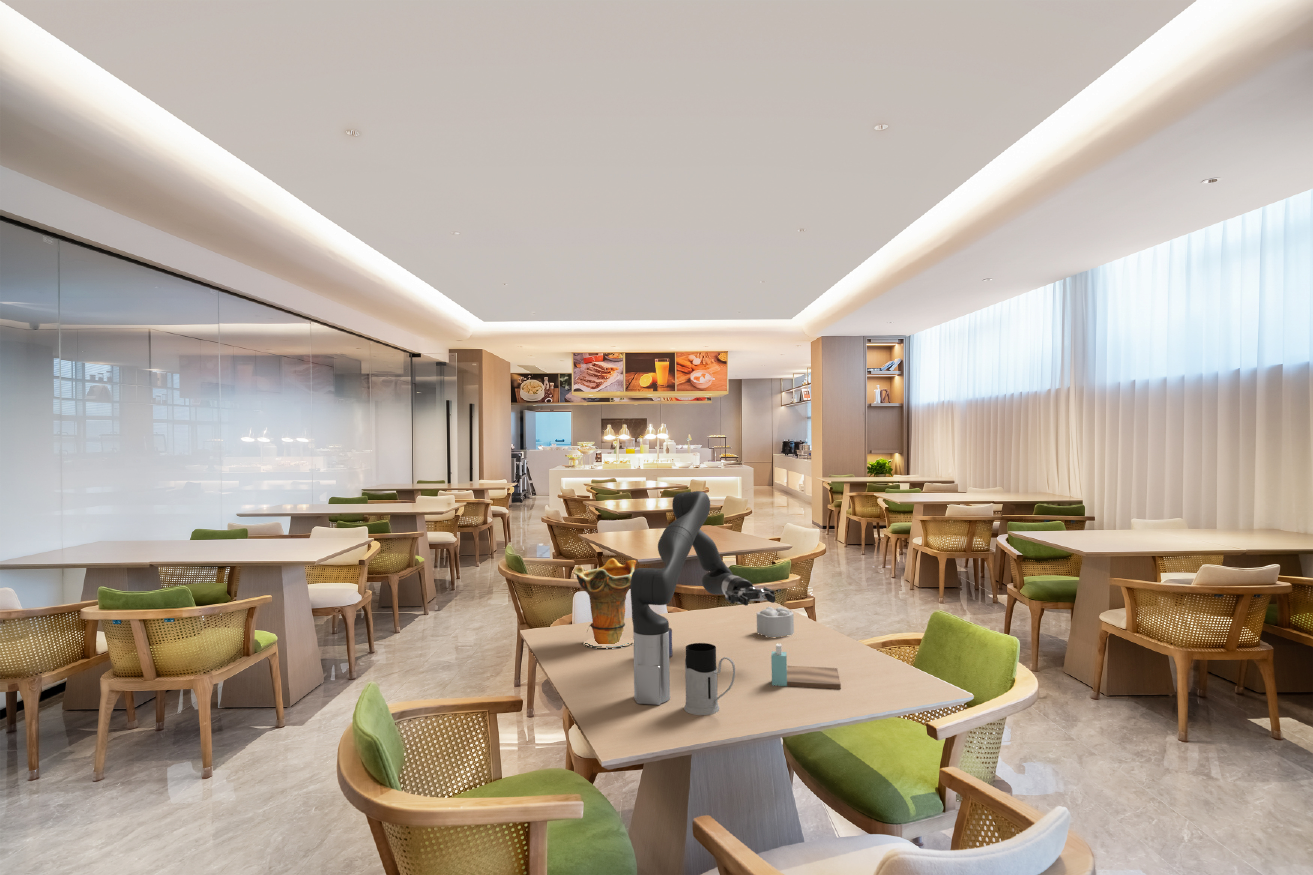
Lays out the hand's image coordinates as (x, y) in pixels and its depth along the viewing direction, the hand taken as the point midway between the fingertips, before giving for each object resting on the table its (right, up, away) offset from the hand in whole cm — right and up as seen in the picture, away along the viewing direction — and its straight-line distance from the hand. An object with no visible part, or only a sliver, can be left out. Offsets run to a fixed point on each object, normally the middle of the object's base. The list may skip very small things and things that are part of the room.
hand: (760, 600), depth 190 cm
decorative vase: (-47, -23, +33) cm, 61 cm away
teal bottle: (+3, -20, -11) cm, 23 cm away
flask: (-30, -22, +15) cm, 40 cm away
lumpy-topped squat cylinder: (+12, -22, +41) cm, 48 cm away
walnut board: (+13, -20, -8) cm, 25 cm away
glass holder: (-17, -20, -30) cm, 40 cm away
